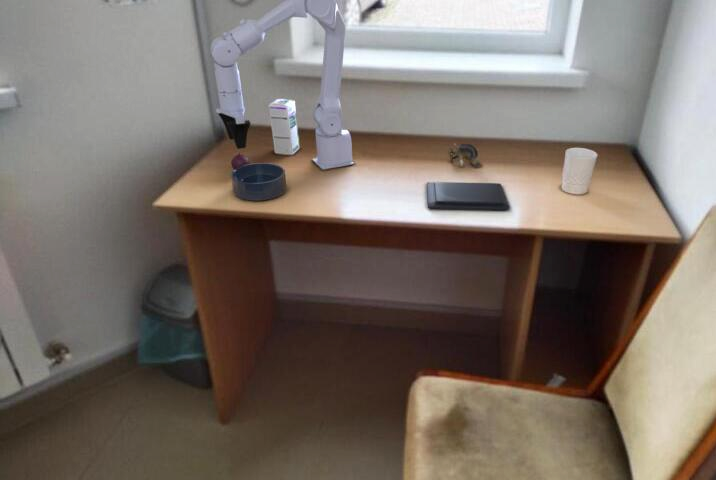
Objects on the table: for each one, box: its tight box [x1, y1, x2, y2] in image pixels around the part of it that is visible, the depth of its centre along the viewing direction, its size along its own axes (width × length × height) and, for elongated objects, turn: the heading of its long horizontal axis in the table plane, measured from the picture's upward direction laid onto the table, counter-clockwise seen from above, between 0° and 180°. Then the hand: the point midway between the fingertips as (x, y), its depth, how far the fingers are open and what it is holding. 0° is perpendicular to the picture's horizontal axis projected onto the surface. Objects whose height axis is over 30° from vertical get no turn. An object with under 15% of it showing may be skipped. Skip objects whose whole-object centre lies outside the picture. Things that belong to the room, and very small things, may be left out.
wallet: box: [426, 181, 510, 212], centre depth 141 cm, size 20×2×15 cm
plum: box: [230, 152, 251, 171], centre depth 149 cm, size 5×5×6 cm
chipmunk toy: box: [446, 143, 482, 168], centre depth 158 cm, size 8×7×9 cm
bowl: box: [230, 162, 288, 201], centre depth 140 cm, size 13×13×5 cm
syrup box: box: [268, 98, 301, 156], centre depth 161 cm, size 6×6×14 cm
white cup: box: [561, 147, 599, 195], centre depth 145 cm, size 8×8×10 cm
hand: (237, 143), depth 146 cm, fingers open, 7 cm apart
